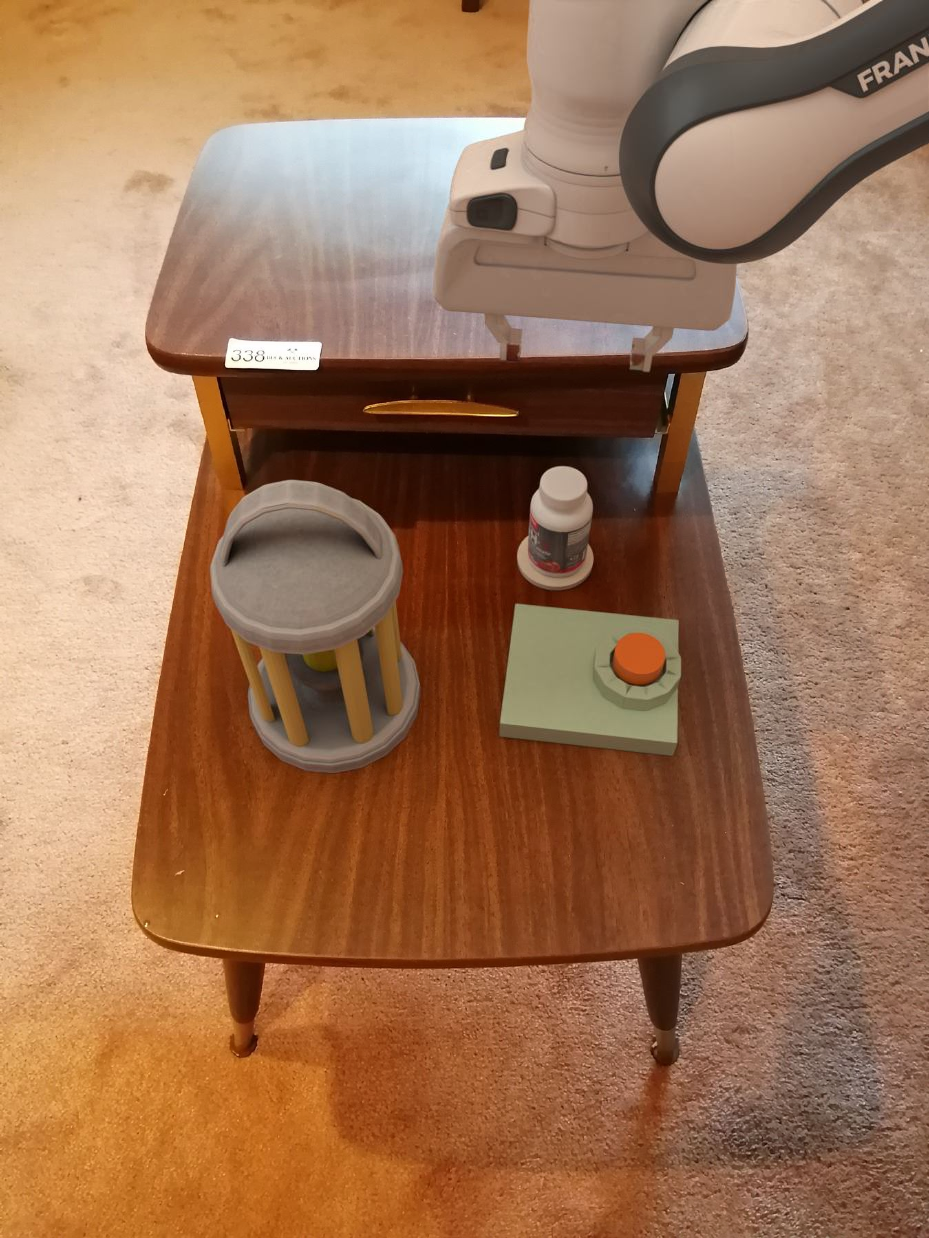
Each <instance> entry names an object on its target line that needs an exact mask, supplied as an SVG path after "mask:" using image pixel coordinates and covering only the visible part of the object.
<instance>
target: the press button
mask: <svg viewBox="0 0 929 1238" xmlns="http://www.w3.org/2000/svg"><path fill="white" fill-rule="evenodd" d="M664 661H665V650H664V648H663V646H662V644H661V643H660V642H659V641H658V640H657V639H656V638H654V637H653V636H651V635H648V634H645V633H631V634H628V635H626V636H624V637H622V638H621V639H620V640H619V641H618V643H617V645H616V647H615V652H614V657H613V668H614V670H615V672H616V674H617V675H618V676H619V677H620V678H621V679H622V680H623V681H625V682H627V683H629V684H633V685H647V684H650V683H652V682H654V681H655V680H656V679H657V678H658V677H659V676H660V674H661V672H662V668H663V665H664Z"/></svg>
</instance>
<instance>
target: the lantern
mask: <svg viewBox="0 0 929 1238" xmlns="http://www.w3.org/2000/svg"><path fill="white" fill-rule="evenodd" d="M398 543H399V542H398V540H397V536H396V535H395V533H394V532H393V530H392V529H391V528H390V526H389V525H388V523H387V522H386V520H385V519H384V517H382V515H380V514H379V513H378V512H377V511H375V510H374V509H373V508H371V507H370V506H368V505H366V504H365V503H363V502H362V501H361V500H359V499H356V498H352V497H351V496H349V495H347V494H346V493H345V492H343V491H341V490H339V489H336V488H334V487H332V486H328V485H325V484H324V483H320V482H317V481H308V480H299V479H286V480H281V481H276V482H271V483H267V484H264V485H262V486H261V485H260V487H258V488H256V489H255V490H253V491H251V492H249V493H248V494H246V495H245V496H243V497H242V498H241V499H240V500H239V502H238V503H237V504H236V506H235V507H234V508H233V509H232V510H231V512H230V514H229V516H228V518H227V521H226V524H225V528H224V532H223V535H222V536H221V538H220V539H219V540H218V542H217V545H216V548H215V551H214V554H213V556H212V560H211V563H210V566H209V571H210V572H209V573H210V586H211V595H212V599H213V602H214V603H215V604H214V605H215V606H216V608H217V610H218V612H219V614H220V615H221V617H222V619H223V621H224V623H225V624H226V626H227V627H228V628H230V631H231V634H232V636H233V639H234V643H235V646H236V649H237V651H238V653H239V657H240V660H241V662H242V665H243V668H244V671H245V673H246V676H247V680H248V682H249V687H248V692H247V699H248V710H249V717H250V720H251V723H252V726H253V727H254V729H255V731H256V733H257V735H258V737H259V739H260V740H261V742H262V744H263V746H264V747H266V748H267V750H269V751H270V752H271V753H272V754H273V755H275V757H277V758H278V759H279V760H280V761H282V762H283V763H286V764H289V765H291V766H293V767H296V768H298V769H300V770H303V771H305V772H313V773H314V772H315V773H326V774H338V773H342V772H348V771H353V770H359V769H362V768H364V767H366V766H368V765H370V764H372V763H374V762H376V761H378V760H380V759H382V758H384V757H386V756H387V755H388V754H390V752H392V750H394V749H395V748H396V747H397V746H398V745H399V744H400V743H401V742H402V741H403V740H404V739H405V738H406V737H407V735H408V733H409V731H410V729H411V727H412V726H413V724H414V722H415V721H416V718H417V716H418V711H419V704H420V699H421V684H420V683H421V682H420V679H419V674H418V671H417V665H416V661H415V660H414V659H413V657H412V655H411V654H410V652H409V651H408V649H407V648H406V646H405V645H404V644H403V642H401V635H400V627H399V619H398V618H399V617H398V610H397V609H398V608H397V599H398V597H399V596H400V590H401V586H402V580H403V575H404V568H403V561H402V557H401V556H402V555H401V552H400V547H399V544H398ZM251 645H254V646H256V647H259V651H260V655H261V659H260V660H259V662H258V663H257V661H256V657H255V655H254V651H253V649H252V646H251Z"/></svg>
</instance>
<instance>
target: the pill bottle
mask: <svg viewBox="0 0 929 1238" xmlns="http://www.w3.org/2000/svg"><path fill="white" fill-rule="evenodd" d="M530 500H531V501H530V504H529V505H530V506H529V507H530V508H529V524H528V536H529V538H528V559H529V561H530V563H531V565H532V566H533V567H534V568H535V569H536V570H537V571H539V572H540V573H542V574H544V575H547V576H551V577H565V576H569V575H572V574H574V573H576V572H577V571H578V570H579V569H580V568H581V567H582V566H583V564H584V562H585V559H586V554H587V547H588V544H589V539H590V533H591V526H592V520H593V519H592V518H593V512H594V505H593V499H592V497H591V495H590V494H589V493H588V481H587V478H586V476H585V475H584V474H583V473H582V472H581V471H579V470H578V469H576V468H574V467H572V466H567V465H560V466H554V467H551V468H549V469H547V470H546V471H545V472H544V473H543V474H542V475H541V477H540V481H539V487H538V489H537V490H536V491H535V492H534V494H533V495H532V497H531V499H530Z"/></svg>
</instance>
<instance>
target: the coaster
mask: <svg viewBox="0 0 929 1238" xmlns="http://www.w3.org/2000/svg"><path fill="white" fill-rule="evenodd" d="M528 538H529V535H527V536H526V537H525V538H524V539H523V540H522V541H521V543H520V544H519V546H518V548H517V554H516V555H517V556H516V564H517V567H518V571H519V572H520V574H521V575H522V576H523V578H524V579H525V580H527V581H528V582H529V583H531V584H532V585H533V586H535V587H537V588H540V589H544V590H548V591H565V590H569V589H573V588H575V587H578V586H579V585H581V584H582V583H583V582H585V580H587V579H588V577H589V576H590V575H591V573H592V570H593V566H594V552H593V549H592V547H591V546H590V544H589V543H588V547H587V554H586V559H585V562H584V564H583V566H582V567H581V568H580V569H579V570H578V571H577V572H576V573H574V574H572V575H569V576H565V577H551V576H547V575H544V574H542V573H540V572H539V571H537V570H536V569H535V568H534V567H533V566H532V565H531V563H530V561H529V559H528Z"/></svg>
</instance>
